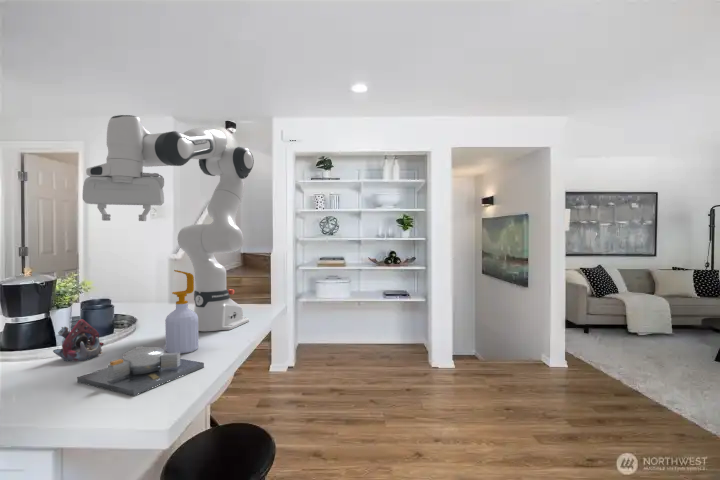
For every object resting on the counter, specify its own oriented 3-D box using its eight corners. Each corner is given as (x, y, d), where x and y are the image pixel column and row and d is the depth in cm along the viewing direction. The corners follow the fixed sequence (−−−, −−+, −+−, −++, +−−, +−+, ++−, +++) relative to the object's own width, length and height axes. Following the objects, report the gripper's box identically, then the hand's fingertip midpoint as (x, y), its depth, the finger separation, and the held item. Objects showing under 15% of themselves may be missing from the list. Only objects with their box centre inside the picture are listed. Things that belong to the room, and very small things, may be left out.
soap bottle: (161, 350, 119) (160, 270, 119) (190, 343, 126) (190, 267, 125) (173, 356, 113) (171, 272, 113) (203, 349, 120) (202, 269, 119)
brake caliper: (82, 356, 105) (60, 320, 107) (57, 378, 107) (35, 342, 109) (117, 345, 116) (97, 312, 118) (93, 365, 119) (73, 332, 120)
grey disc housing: (141, 358, 107) (140, 343, 107) (183, 365, 100) (182, 350, 100) (89, 374, 94) (89, 358, 94) (133, 384, 88) (133, 367, 88)
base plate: (151, 357, 112) (151, 352, 112) (203, 367, 104) (203, 362, 104) (77, 382, 94) (77, 376, 94) (133, 396, 86) (133, 389, 86)
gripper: (167, 175, 115) (167, 221, 115) (91, 172, 112) (91, 220, 112) (160, 171, 109) (160, 220, 109) (79, 168, 106) (79, 219, 106)
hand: (124, 220), depth 110 cm, fingers open, 8 cm apart
